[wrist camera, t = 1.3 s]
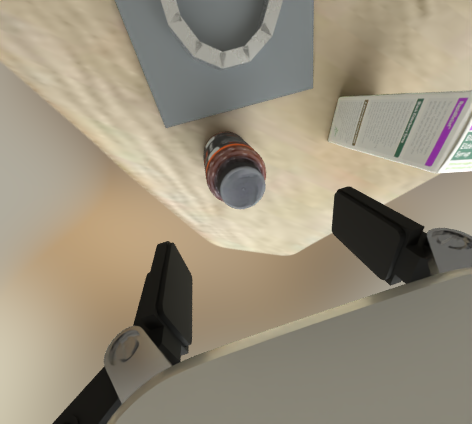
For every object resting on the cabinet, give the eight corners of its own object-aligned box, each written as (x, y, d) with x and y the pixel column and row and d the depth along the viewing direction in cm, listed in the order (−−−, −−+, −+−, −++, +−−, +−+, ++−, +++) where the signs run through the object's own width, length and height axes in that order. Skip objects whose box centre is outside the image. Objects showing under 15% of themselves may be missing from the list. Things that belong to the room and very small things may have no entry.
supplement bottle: (195, 142, 23) (194, 171, 14) (238, 123, 23) (267, 139, 14) (214, 182, 27) (224, 228, 17) (252, 165, 26) (283, 203, 17)
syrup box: (326, 142, 27) (435, 179, 14) (337, 94, 24) (489, 89, 11) (360, 141, 28) (490, 175, 15) (376, 94, 24) (555, 90, 12)
